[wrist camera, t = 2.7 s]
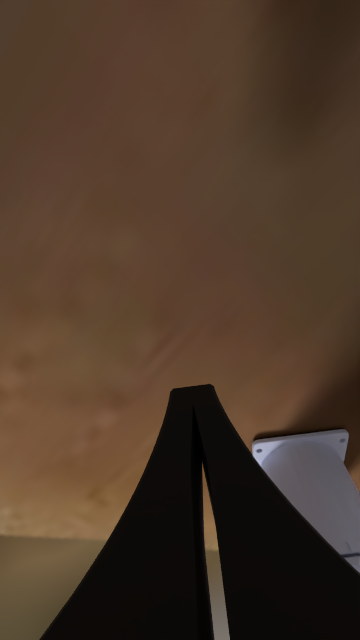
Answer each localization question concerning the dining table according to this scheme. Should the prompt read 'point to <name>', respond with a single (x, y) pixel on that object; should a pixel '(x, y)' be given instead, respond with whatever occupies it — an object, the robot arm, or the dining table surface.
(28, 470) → the dining table surface
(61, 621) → the robot arm
